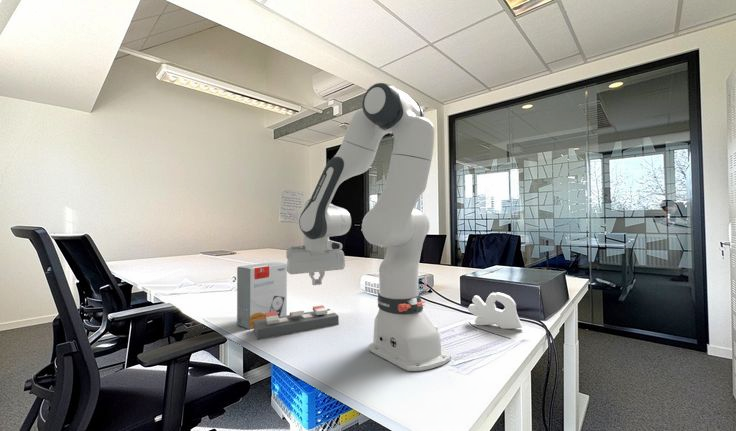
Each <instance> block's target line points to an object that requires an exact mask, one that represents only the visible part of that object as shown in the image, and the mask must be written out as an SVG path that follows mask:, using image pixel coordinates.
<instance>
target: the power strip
mask: <svg viewBox="0 0 736 431" xmlns="http://www.w3.org/2000/svg"><path fill="white" fill-rule="evenodd" d="M326 309H327V310H328V311H327V314H321V315H317V314H316V313H315V312H314V311H313V310H312V311H307V312H304V315H299V316H290V314H288V315H287V316H281V317H279V323H275V324H269V325H267V322H266V319H262V320H255V321H254V328H253V331H254V334H255V337H256V339H257V341H258V340H259V341H260V340H263V339H264V340H265V339H268V338H274V337H278V336H279V337H280V336H286V335H291V334H294V333H295V334H296V333H301V332H306V331H312V330H317V329H323V328H328V327H333V326H338V325H340V324H339V322H340V320H339V317H340V316H339V315H338V313H336V312H335V311H334V310H332V309H331V308H326Z"/></svg>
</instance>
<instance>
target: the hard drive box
mask: <svg viewBox="0 0 736 431" xmlns="http://www.w3.org/2000/svg"><path fill="white" fill-rule="evenodd" d="M236 272H237V274H236V287H237V288H236V297H237V298H236V325H237V326H240V327H242V328H245V329H247V330H250V329H254V321H255V320H262V319H266V318H265V313H266V312H273V311H277V314H278V317H281V316H287V311H288V310H287V306H288V305H287V304H288V303H287V302H288V301H287V300H288V298H287V297H288V290H287V286H288V284H287V282H288V279H287V278H288V272H287V263H285V262H279V261H272V262H264V263H256V264H250V265H249V264H248V265H240V266H237V268H236Z"/></svg>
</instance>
